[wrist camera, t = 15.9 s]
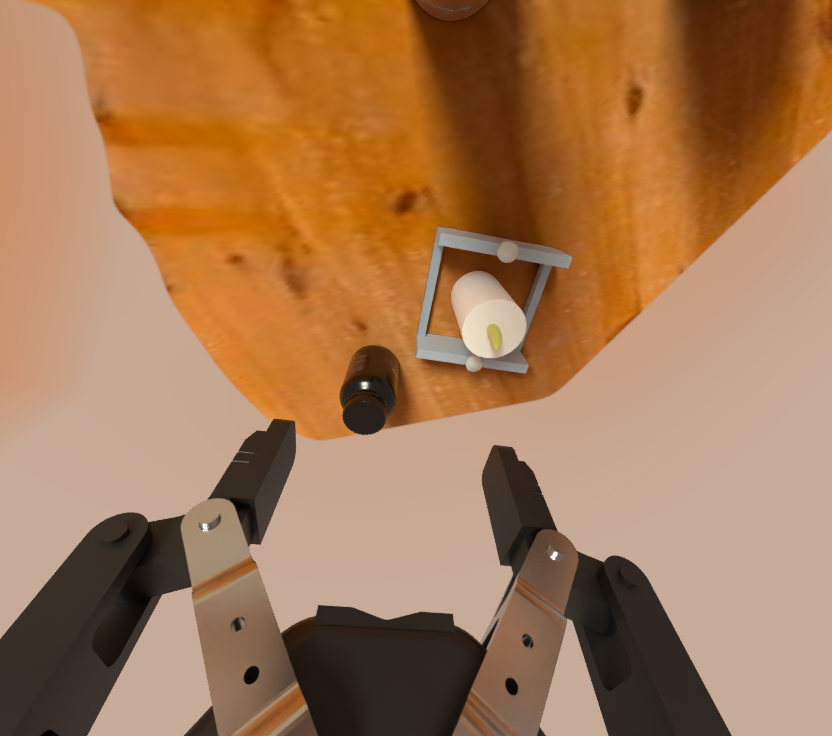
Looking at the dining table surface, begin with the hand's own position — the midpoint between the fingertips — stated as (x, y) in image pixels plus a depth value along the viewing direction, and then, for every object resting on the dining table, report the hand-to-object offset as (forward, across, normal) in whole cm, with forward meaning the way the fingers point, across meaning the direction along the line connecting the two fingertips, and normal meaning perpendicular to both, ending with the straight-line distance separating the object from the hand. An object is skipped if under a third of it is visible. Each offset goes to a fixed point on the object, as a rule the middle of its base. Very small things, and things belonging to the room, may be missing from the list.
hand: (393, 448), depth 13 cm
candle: (+30, -9, +2) cm, 32 cm away
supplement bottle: (+30, +2, +14) cm, 33 cm away
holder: (+30, -10, +2) cm, 32 cm away
